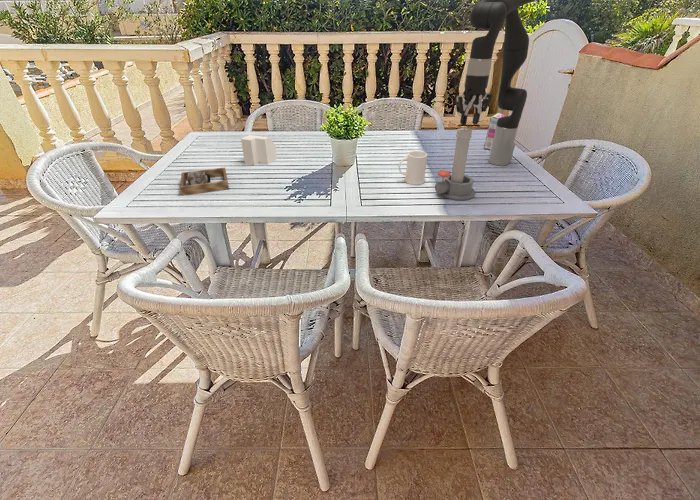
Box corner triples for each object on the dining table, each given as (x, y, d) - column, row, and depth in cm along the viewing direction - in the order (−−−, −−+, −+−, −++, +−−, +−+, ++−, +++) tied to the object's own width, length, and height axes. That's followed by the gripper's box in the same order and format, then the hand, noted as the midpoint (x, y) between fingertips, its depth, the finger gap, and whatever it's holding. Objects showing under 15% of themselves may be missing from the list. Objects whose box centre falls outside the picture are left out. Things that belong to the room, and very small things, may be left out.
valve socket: (461, 183, 156) (465, 161, 151) (481, 197, 145) (487, 174, 140) (426, 189, 152) (429, 167, 146) (444, 204, 141) (448, 180, 135)
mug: (398, 185, 156) (400, 157, 149) (396, 177, 163) (398, 150, 156) (426, 185, 156) (429, 157, 149) (423, 177, 163) (426, 150, 156)
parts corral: (226, 174, 165) (225, 167, 163) (229, 189, 152) (227, 181, 150) (183, 180, 160) (181, 172, 158) (182, 195, 147) (180, 187, 145)
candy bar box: (492, 150, 191) (500, 118, 182) (483, 149, 193) (490, 116, 184) (499, 145, 199) (506, 113, 189) (490, 143, 201) (497, 112, 192)
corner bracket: (245, 163, 176) (240, 138, 169) (258, 156, 185) (255, 132, 178) (264, 167, 173) (260, 141, 166) (276, 159, 181) (274, 134, 175)
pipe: (462, 194, 145) (475, 115, 129) (446, 192, 147) (456, 114, 130) (462, 188, 150) (475, 112, 133) (446, 187, 151) (457, 111, 135)
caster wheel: (204, 183, 163) (217, 186, 157) (179, 186, 155) (192, 189, 149) (202, 168, 161) (215, 170, 155) (177, 170, 152) (190, 172, 146)
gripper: (488, 70, 129) (479, 120, 139) (453, 72, 125) (446, 123, 135) (502, 73, 123) (491, 125, 133) (466, 75, 119) (457, 129, 129)
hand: (468, 124), depth 134 cm, fingers open, 4 cm apart
